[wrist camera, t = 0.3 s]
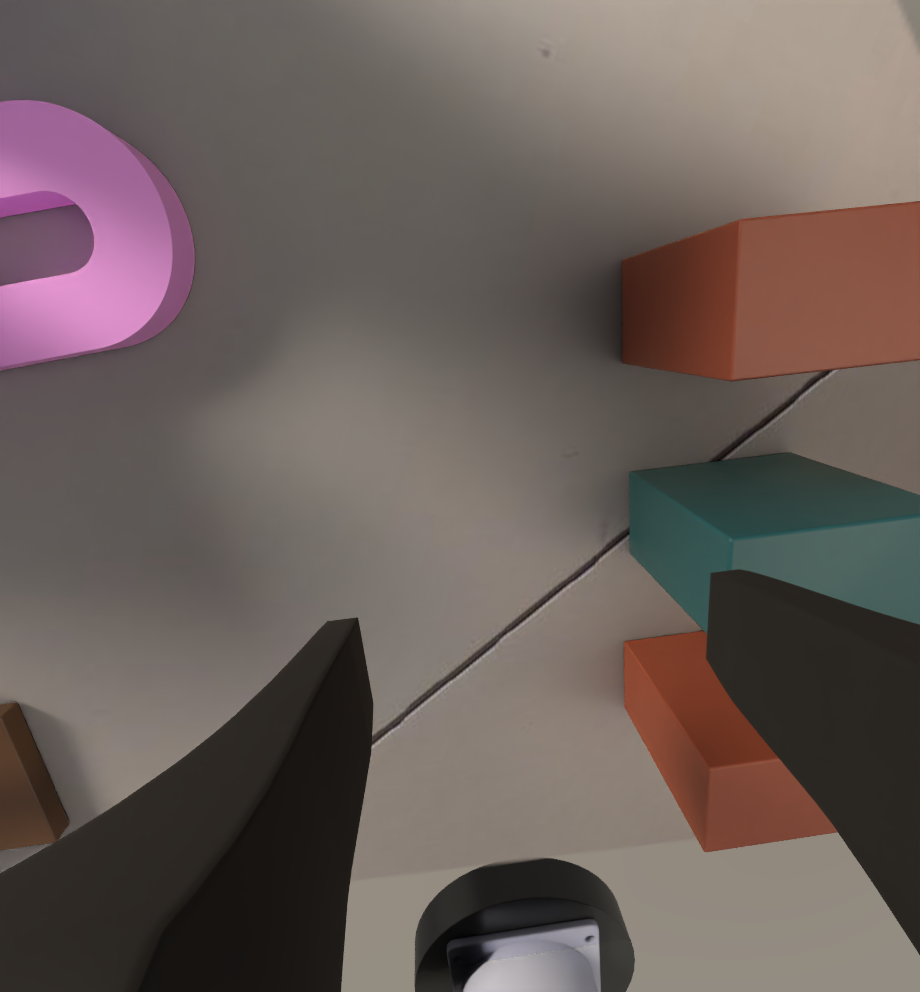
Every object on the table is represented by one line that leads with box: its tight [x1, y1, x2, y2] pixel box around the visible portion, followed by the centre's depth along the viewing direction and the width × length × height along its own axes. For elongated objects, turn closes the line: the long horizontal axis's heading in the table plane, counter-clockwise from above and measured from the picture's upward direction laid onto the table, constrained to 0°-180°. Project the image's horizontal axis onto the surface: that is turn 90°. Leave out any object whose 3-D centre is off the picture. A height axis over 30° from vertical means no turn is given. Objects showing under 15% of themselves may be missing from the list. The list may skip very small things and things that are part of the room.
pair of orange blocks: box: [622, 201, 920, 852], centre depth 15 cm, size 16×6×6 cm, turn 6°
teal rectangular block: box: [630, 453, 920, 634], centre depth 15 cm, size 3×6×6 cm, turn 96°
